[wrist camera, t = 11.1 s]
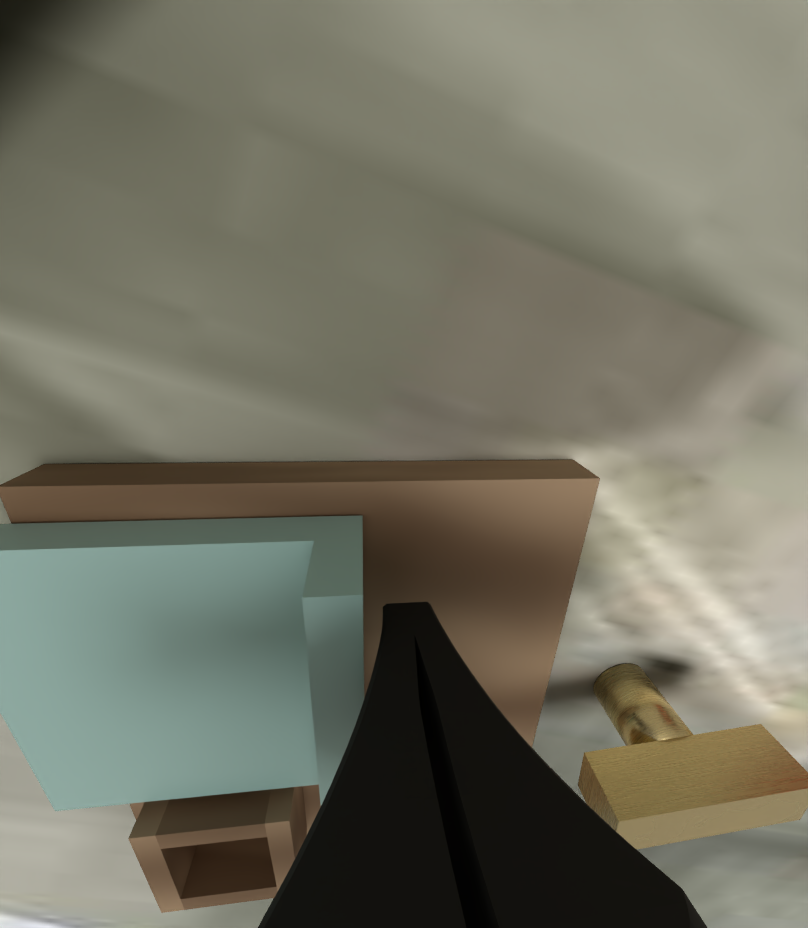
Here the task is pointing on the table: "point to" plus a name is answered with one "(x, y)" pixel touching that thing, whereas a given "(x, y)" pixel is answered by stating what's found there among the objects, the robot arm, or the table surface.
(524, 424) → the table surface
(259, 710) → the cover
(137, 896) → the table surface
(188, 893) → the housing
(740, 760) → the tan block with knob
